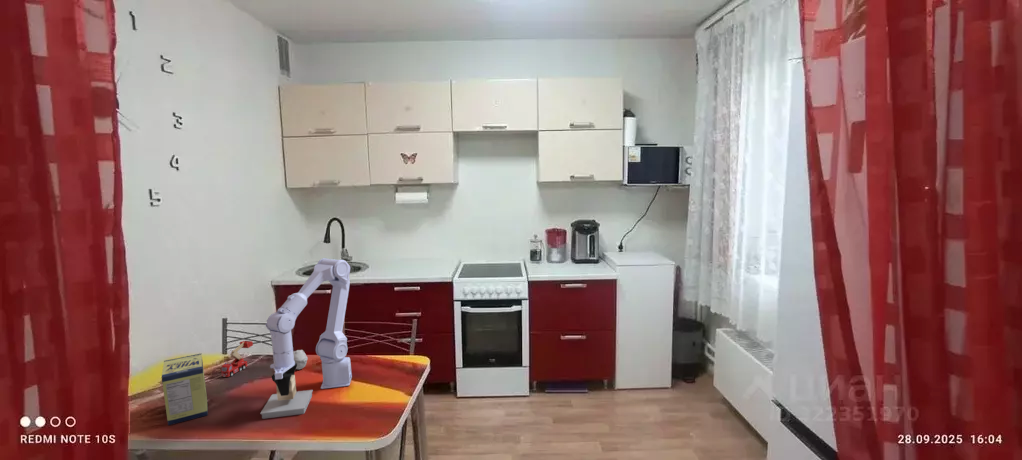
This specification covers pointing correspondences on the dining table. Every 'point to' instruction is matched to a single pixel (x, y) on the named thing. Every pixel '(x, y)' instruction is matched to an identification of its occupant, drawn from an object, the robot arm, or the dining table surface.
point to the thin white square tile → (287, 405)
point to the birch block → (291, 390)
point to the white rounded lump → (300, 359)
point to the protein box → (184, 388)
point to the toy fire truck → (236, 361)
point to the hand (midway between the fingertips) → (286, 391)
